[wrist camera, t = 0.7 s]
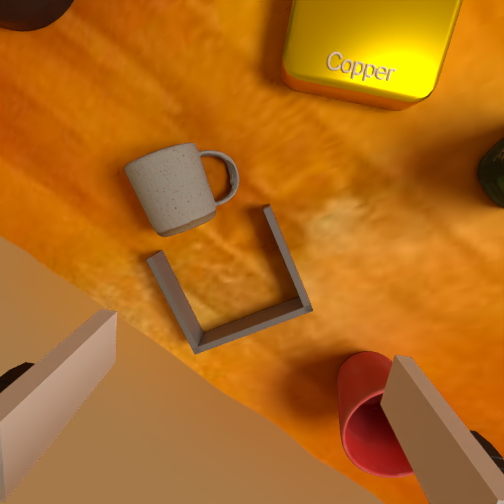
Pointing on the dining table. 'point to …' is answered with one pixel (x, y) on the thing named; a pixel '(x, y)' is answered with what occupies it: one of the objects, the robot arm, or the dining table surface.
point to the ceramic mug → (177, 187)
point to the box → (239, 327)
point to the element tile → (368, 49)
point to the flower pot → (368, 417)
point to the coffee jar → (493, 173)
